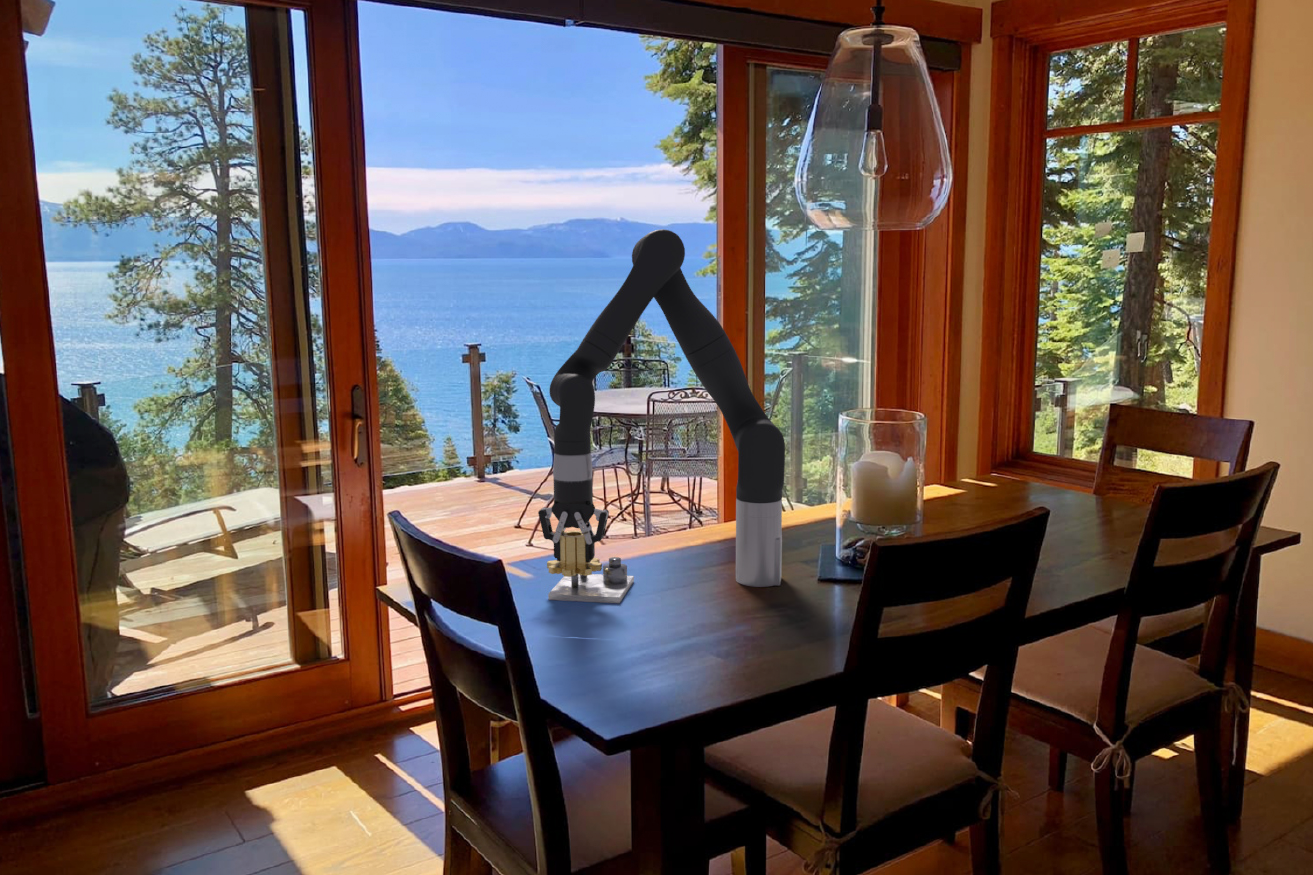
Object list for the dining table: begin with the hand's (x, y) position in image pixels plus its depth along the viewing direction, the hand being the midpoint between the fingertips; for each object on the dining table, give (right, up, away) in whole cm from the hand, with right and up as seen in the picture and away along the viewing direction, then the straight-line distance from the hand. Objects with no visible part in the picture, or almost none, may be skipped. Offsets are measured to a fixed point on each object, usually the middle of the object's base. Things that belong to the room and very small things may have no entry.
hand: (574, 560), depth 189 cm
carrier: (+3, -6, +2) cm, 7 cm away
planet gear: (0, -2, 0) cm, 2 cm away
